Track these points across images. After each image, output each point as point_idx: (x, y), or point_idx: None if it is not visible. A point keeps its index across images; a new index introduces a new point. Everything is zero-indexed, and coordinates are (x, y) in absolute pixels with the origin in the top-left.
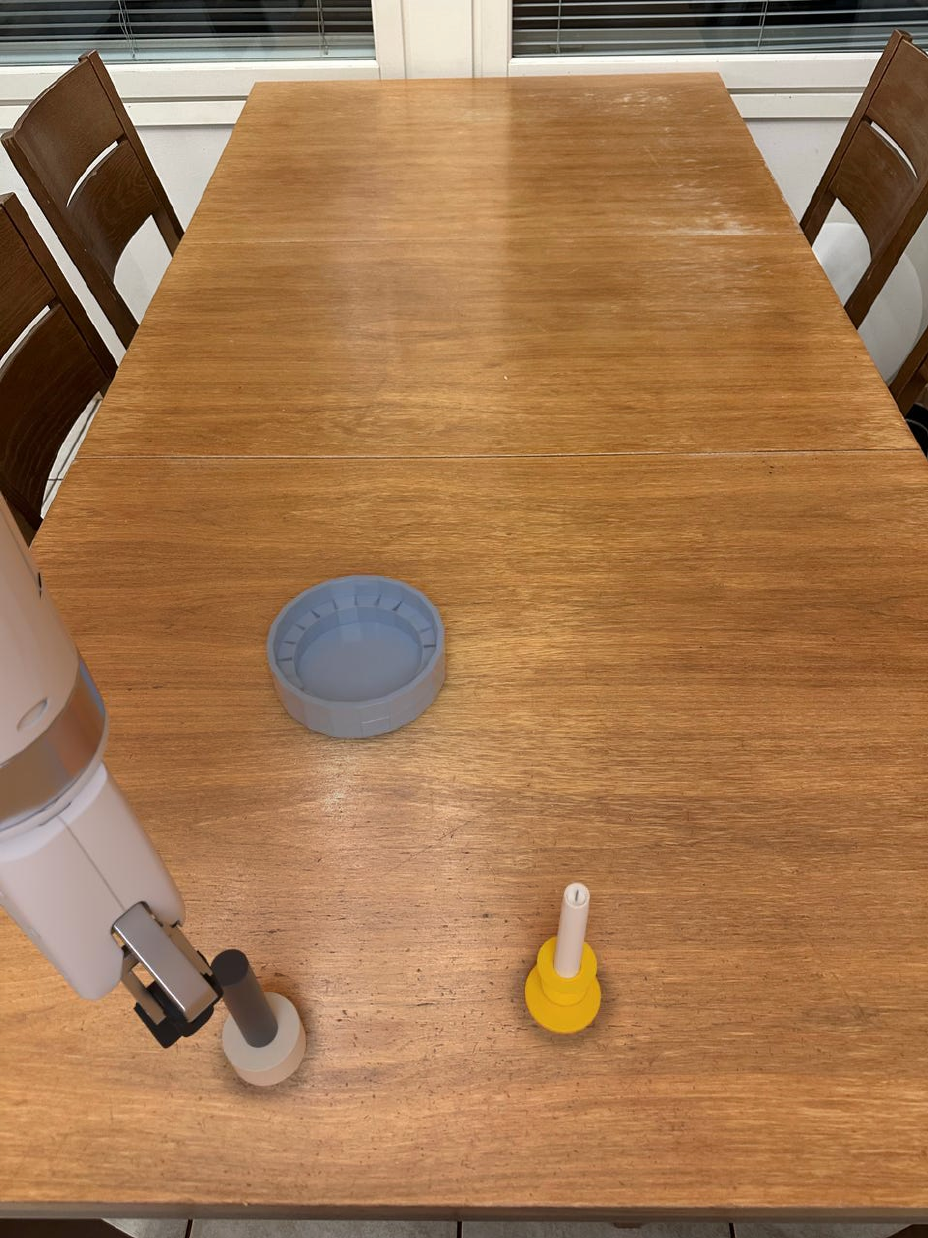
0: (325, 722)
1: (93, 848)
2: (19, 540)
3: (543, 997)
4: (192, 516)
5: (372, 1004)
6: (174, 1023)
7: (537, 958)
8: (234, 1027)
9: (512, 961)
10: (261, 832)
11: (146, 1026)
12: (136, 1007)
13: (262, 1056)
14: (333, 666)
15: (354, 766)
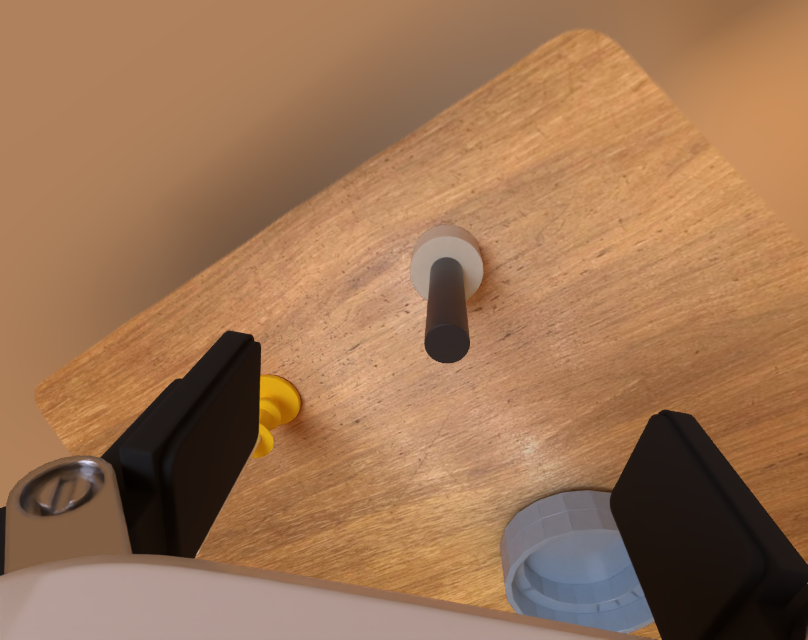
0: (574, 507)
1: None
2: None
3: (278, 393)
4: None
5: (390, 327)
6: (127, 431)
7: (269, 433)
8: (470, 262)
9: (318, 402)
10: (574, 398)
11: (215, 377)
12: (145, 460)
13: (429, 255)
14: (604, 540)
15: (531, 475)
